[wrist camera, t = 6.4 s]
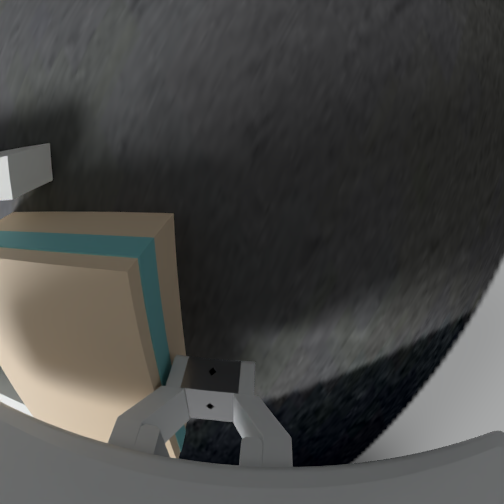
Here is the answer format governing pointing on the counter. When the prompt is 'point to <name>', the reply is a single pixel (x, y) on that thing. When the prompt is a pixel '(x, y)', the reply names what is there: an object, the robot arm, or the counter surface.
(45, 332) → the carton
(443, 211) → the counter surface
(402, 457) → the robot arm
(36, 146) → the frame
